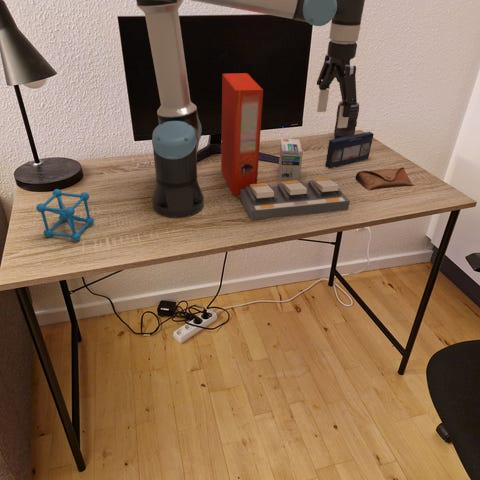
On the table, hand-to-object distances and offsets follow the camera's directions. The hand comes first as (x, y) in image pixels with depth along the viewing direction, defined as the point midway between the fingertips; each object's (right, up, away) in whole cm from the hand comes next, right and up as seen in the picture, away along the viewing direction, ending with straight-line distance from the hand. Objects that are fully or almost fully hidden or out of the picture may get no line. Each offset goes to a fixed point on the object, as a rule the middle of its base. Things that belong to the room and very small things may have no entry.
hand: (331, 119), depth 127 cm
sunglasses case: (+21, -17, +17) cm, 32 cm away
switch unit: (-11, -25, +4) cm, 27 cm away
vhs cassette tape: (+12, -8, +29) cm, 32 cm away
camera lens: (+14, +4, +45) cm, 48 cm away
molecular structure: (-73, -33, -11) cm, 80 cm away
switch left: (-21, -21, -1) cm, 29 cm away
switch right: (-1, -19, +4) cm, 19 cm away
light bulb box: (-10, -13, +20) cm, 26 cm away
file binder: (-27, -17, +15) cm, 35 cm away
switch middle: (-11, -20, +2) cm, 23 cm away
